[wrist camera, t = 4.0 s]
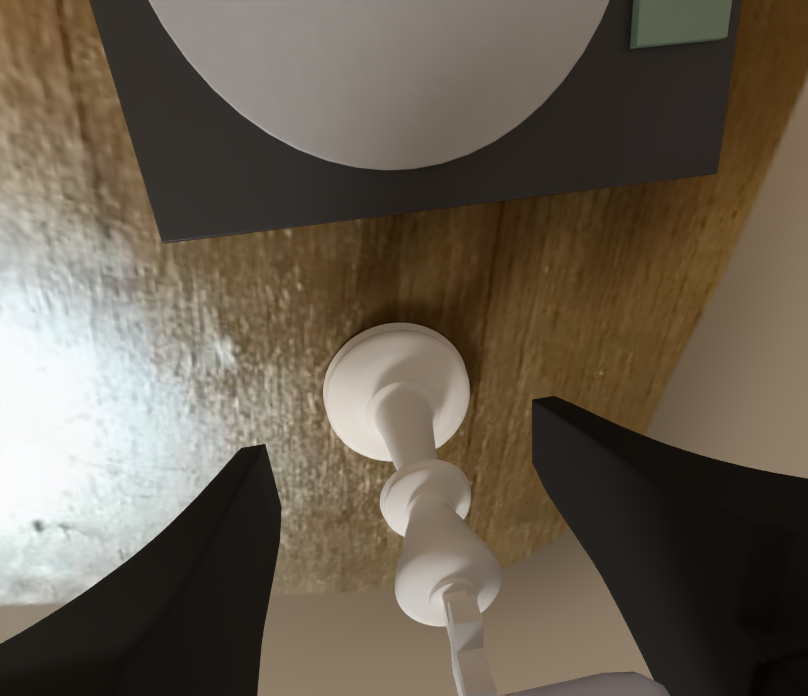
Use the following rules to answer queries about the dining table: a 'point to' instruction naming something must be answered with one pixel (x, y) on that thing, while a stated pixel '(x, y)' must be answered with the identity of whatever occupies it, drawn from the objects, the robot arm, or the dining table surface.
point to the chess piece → (420, 479)
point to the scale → (409, 102)
